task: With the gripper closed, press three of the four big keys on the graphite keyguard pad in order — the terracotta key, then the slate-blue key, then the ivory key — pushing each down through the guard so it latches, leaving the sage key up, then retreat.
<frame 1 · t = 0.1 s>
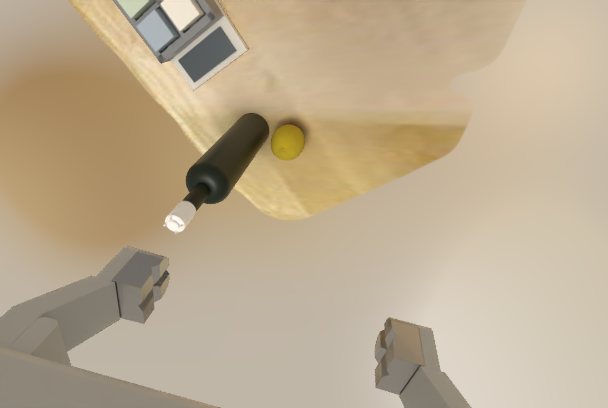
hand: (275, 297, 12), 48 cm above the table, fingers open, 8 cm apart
key ivory: (183, 8, 48), point 5 cm above the table, slide at 0.0 cm
wine bottle: (253, 128, 61), on the table
lemon: (292, 133, 60), on the table
key slate: (158, 30, 50), point 4 cm above the table, slide at 0.0 cm
keypad: (184, 17, 53), on the table
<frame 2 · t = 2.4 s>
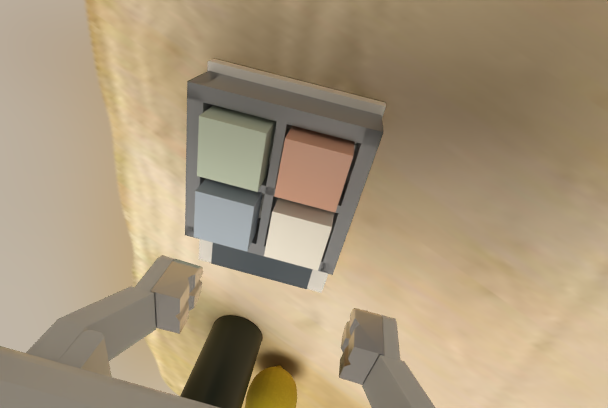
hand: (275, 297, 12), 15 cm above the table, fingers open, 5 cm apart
key ivory: (298, 232, 24), point 4 cm above the table, slide at 0.0 cm
key sage: (235, 148, 21), point 4 cm above the table, slide at 0.0 cm
key terracotta: (313, 169, 21), point 4 cm above the table, slide at 0.0 cm
wine bottle: (238, 331, 39), on the table
lemon: (279, 364, 41), on the table
key slate: (228, 213, 24), point 4 cm above the table, slide at 0.0 cm
keypad: (277, 191, 28), on the table
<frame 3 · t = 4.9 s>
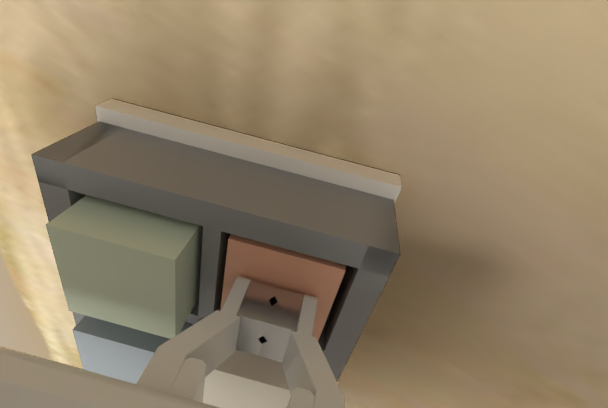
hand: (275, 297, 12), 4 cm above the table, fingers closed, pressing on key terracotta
key ivory: (257, 380, 15), point 5 cm above the table, slide at 0.0 cm
key sage: (135, 265, 12), point 5 cm above the table, slide at 0.0 cm
key terracotta: (283, 273, 13), point 3 cm above the table, slide at 1.5 cm, touching gripper
key slate: (142, 348, 15), point 4 cm above the table, slide at 0.0 cm
keypad: (233, 288, 19), on the table
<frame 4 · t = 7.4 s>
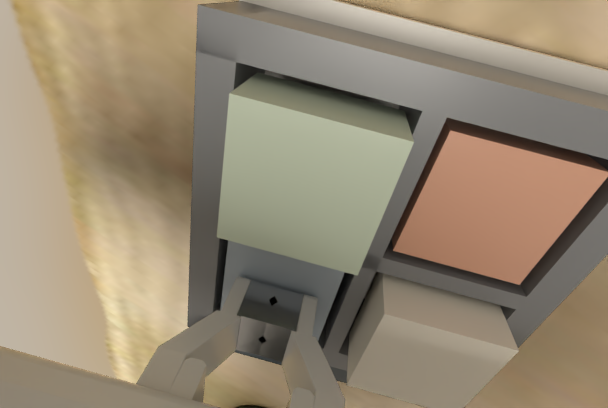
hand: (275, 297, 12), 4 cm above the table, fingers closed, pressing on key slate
key ivory: (419, 340, 12), point 4 cm above the table, slide at 0.0 cm
key sage: (308, 175, 9), point 5 cm above the table, slide at 0.0 cm
key terracotta: (478, 196, 10), point 3 cm above the table, slide at 1.5 cm
key slate: (283, 272, 13), point 3 cm above the table, slide at 1.4 cm, touching gripper
keypad: (352, 240, 16), on the table
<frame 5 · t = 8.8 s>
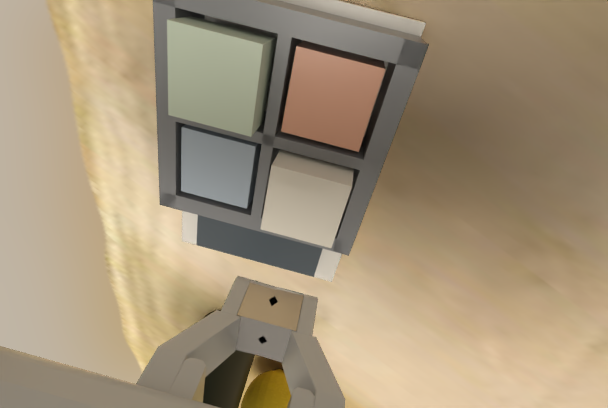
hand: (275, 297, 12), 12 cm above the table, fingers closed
key ivory: (306, 198, 18), point 5 cm above the table, slide at 0.0 cm
key sage: (221, 77, 16), point 5 cm above the table, slide at 0.0 cm
key terracotta: (331, 96, 17), point 3 cm above the table, slide at 1.5 cm
wine bottle: (231, 328, 33), on the table
lemon: (280, 367, 35), on the table
key slate: (223, 161, 20), point 3 cm above the table, slide at 1.5 cm
keypad: (278, 151, 22), on the table
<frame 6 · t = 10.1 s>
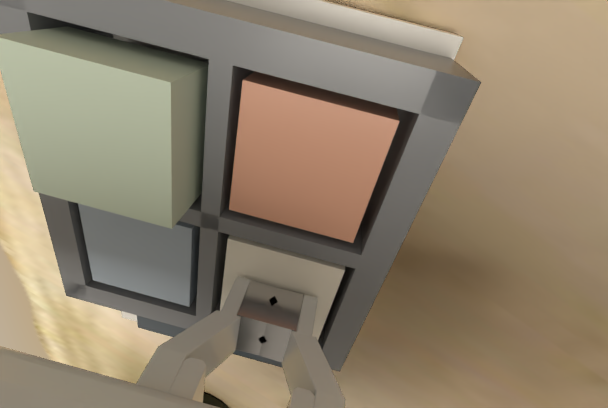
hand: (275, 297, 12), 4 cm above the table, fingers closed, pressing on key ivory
key ivory: (282, 273, 13), point 3 cm above the table, slide at 1.5 cm, touching gripper
key sage: (120, 129, 9), point 5 cm above the table, slide at 0.0 cm
key terracotta: (309, 154, 10), point 3 cm above the table, slide at 1.5 cm
wine bottle: (198, 406, 27), on the table
key slate: (153, 238, 13), point 3 cm above the table, slide at 1.5 cm
keypad: (242, 212, 16), on the table
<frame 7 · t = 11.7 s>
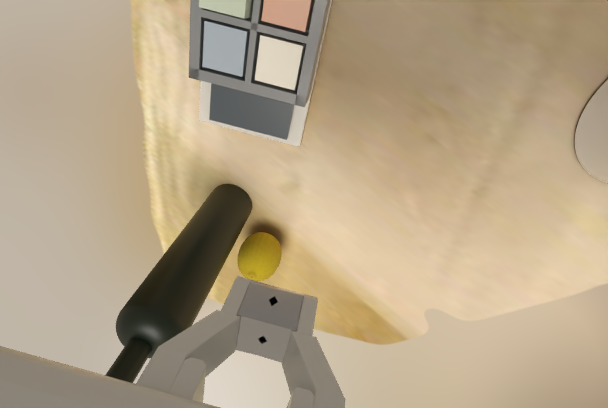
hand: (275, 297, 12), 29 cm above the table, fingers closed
key ivory: (280, 61, 33), point 3 cm above the table, slide at 1.5 cm
key terracotta: (289, 0, 30), point 3 cm above the table, slide at 1.5 cm
wine bottle: (232, 202, 46), on the table
lemon: (267, 236, 48), on the table
key slate: (227, 48, 33), point 3 cm above the table, slide at 1.5 cm
keypad: (262, 49, 35), on the table
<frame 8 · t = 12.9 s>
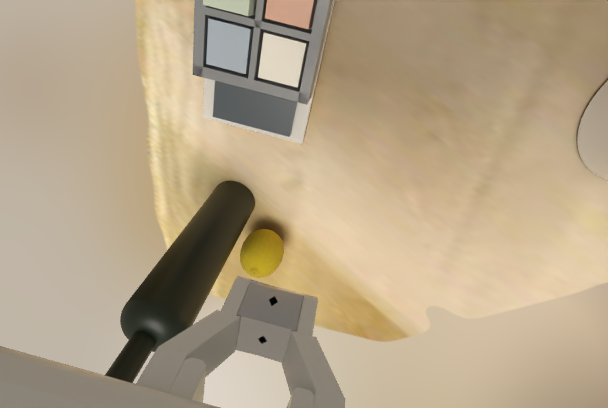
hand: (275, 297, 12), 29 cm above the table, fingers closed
key ivory: (283, 59, 33), point 3 cm above the table, slide at 1.5 cm
wine bottle: (234, 198, 46), on the table
lemon: (270, 233, 49), on the table
key slate: (231, 45, 33), point 3 cm above the table, slide at 1.5 cm
keypad: (265, 47, 35), on the table
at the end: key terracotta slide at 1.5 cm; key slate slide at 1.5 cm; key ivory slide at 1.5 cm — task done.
